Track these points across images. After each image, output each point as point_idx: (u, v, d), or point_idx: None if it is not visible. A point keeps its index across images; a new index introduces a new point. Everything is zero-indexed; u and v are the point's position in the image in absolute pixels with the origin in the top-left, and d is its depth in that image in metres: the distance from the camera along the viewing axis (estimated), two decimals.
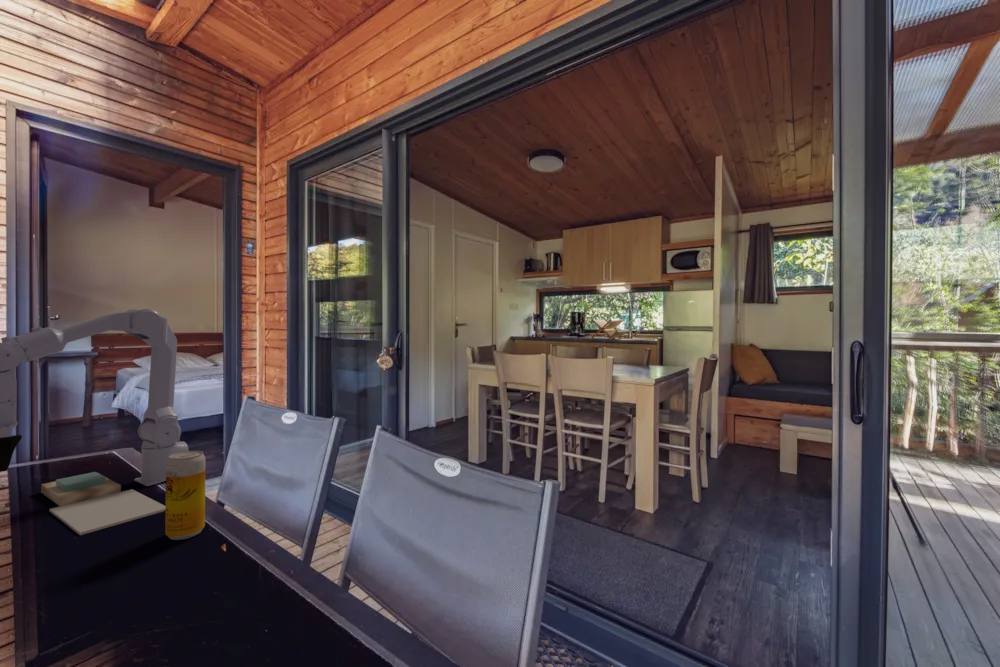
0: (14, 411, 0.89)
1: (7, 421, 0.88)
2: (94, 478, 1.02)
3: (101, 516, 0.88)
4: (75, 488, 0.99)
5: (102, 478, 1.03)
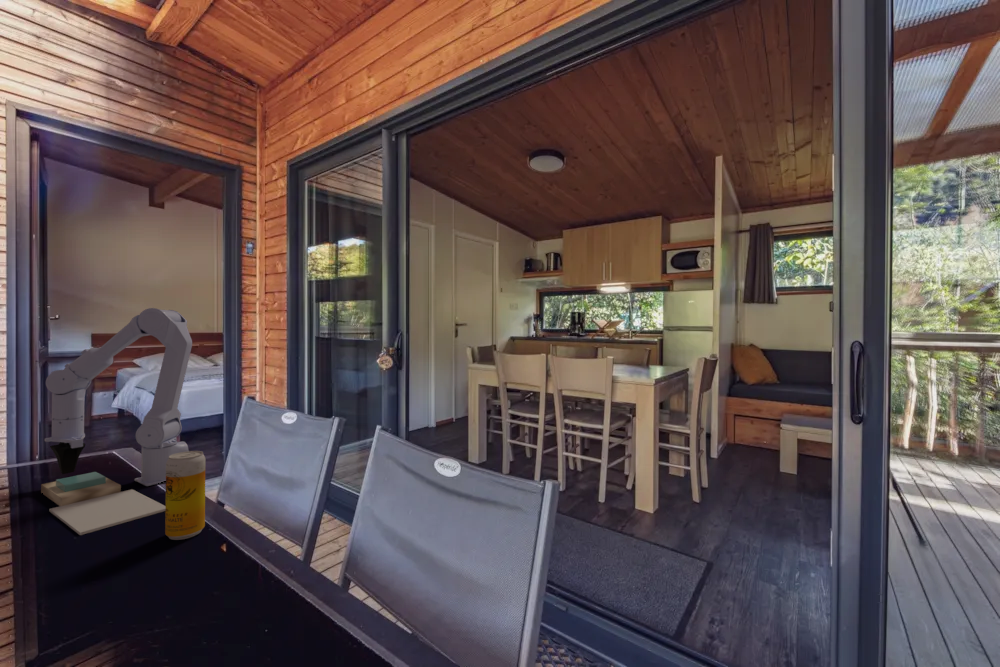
0: (83, 425, 1.09)
1: (78, 434, 1.07)
2: (94, 478, 1.02)
3: (101, 516, 0.88)
4: (75, 488, 0.99)
5: (102, 478, 1.03)
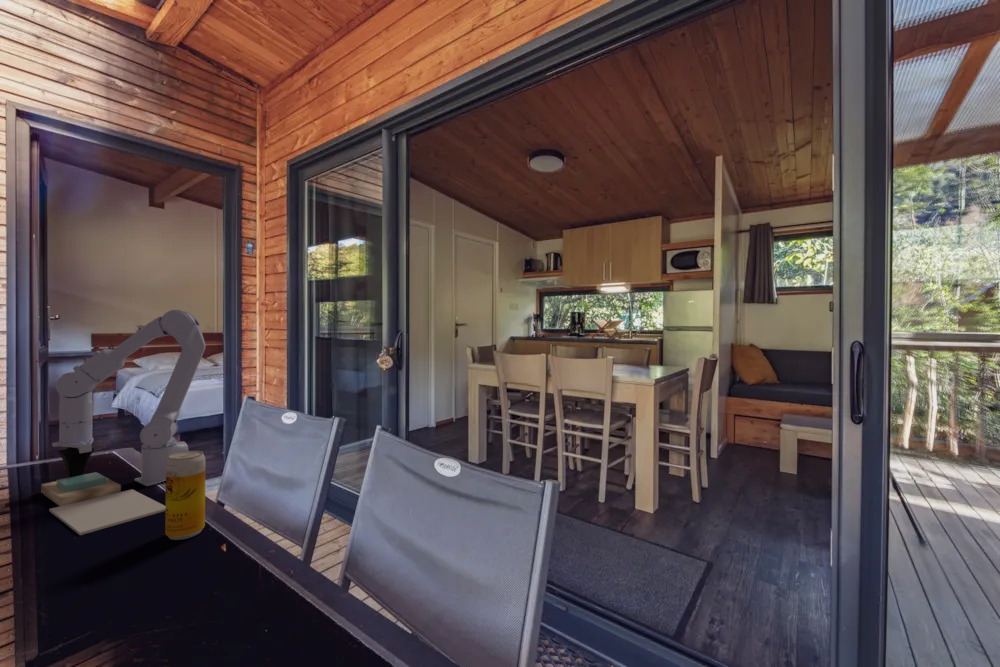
0: (91, 429, 1.05)
1: (86, 438, 1.04)
2: (95, 478, 1.02)
3: (101, 516, 0.88)
4: (75, 488, 0.98)
5: (103, 478, 1.02)
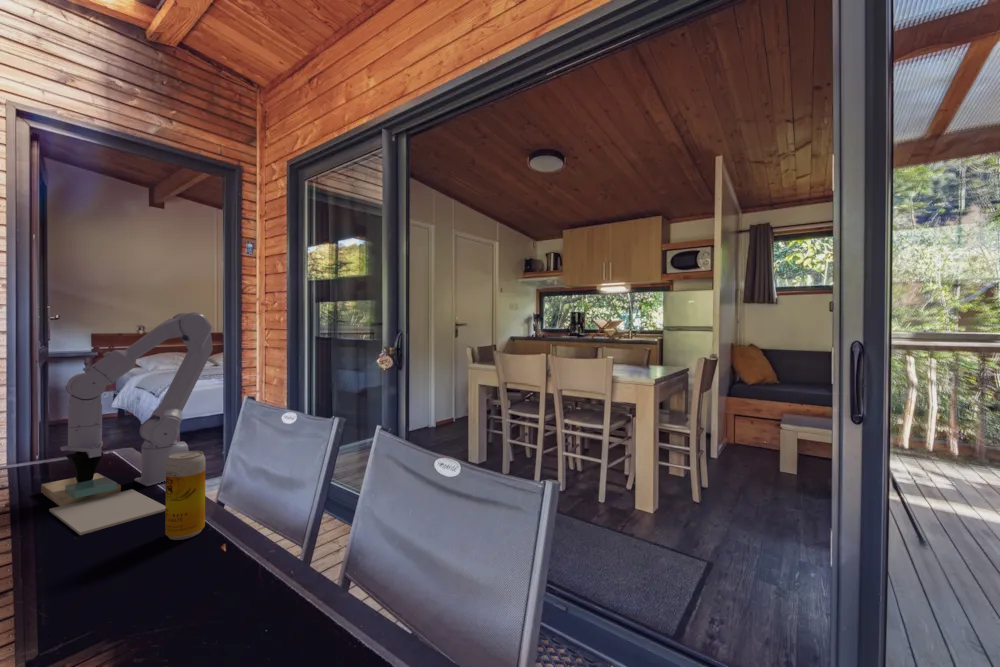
0: (100, 433, 1.02)
1: (95, 442, 1.00)
2: (105, 484, 0.98)
3: (101, 516, 0.88)
4: (85, 494, 0.95)
5: (113, 484, 0.99)
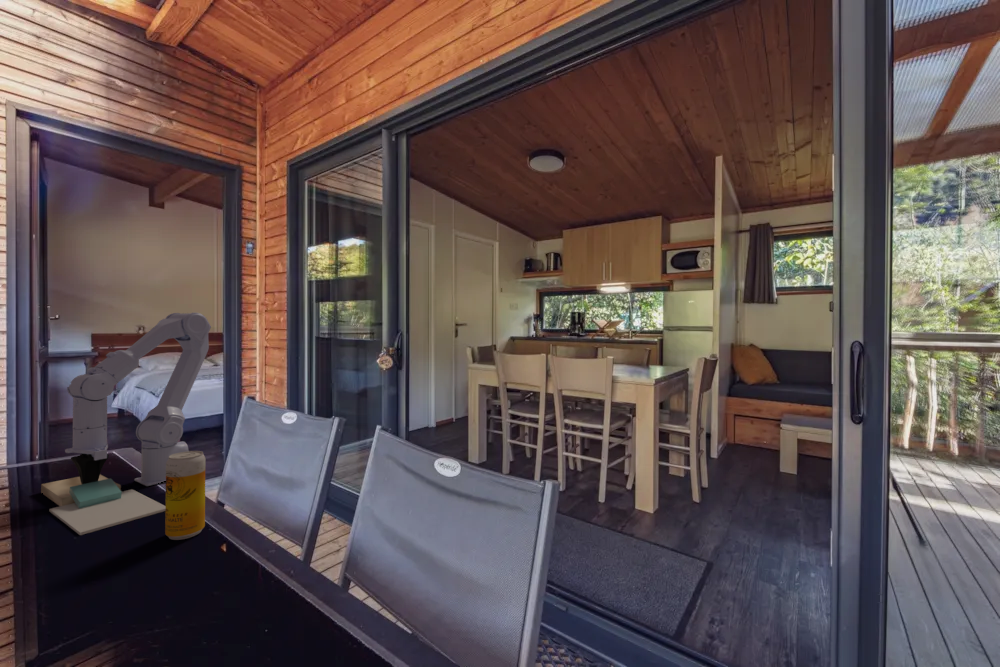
0: (106, 435, 1.00)
1: (101, 444, 0.98)
2: (110, 493, 0.97)
3: (101, 516, 0.88)
4: (90, 504, 0.93)
5: (118, 493, 0.97)
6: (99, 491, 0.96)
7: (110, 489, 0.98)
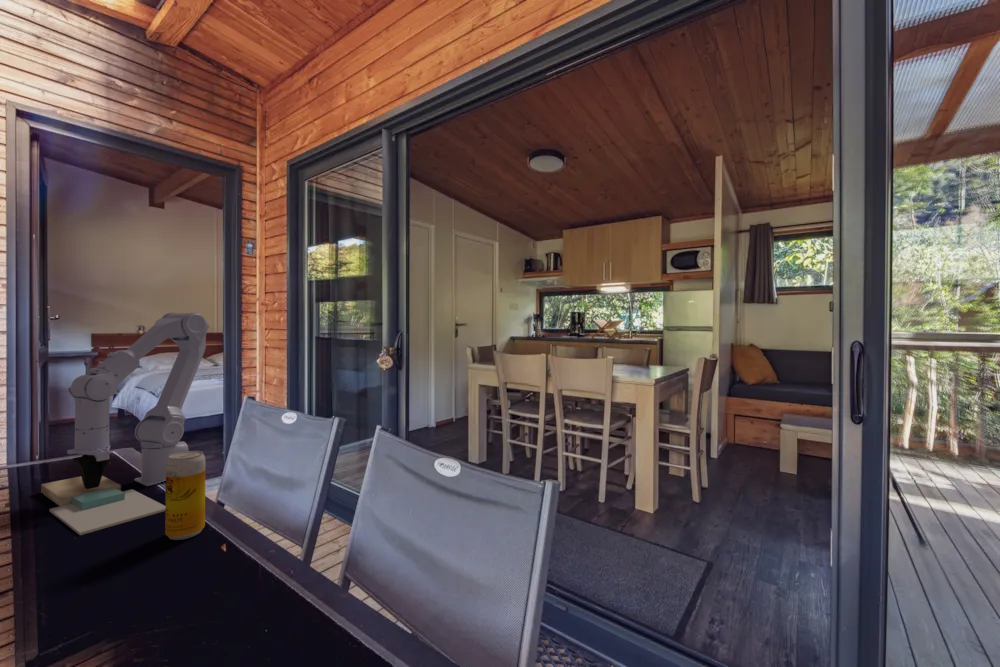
0: (108, 435, 0.99)
1: (103, 445, 0.98)
2: (113, 494, 0.96)
3: (101, 516, 0.88)
4: (93, 506, 0.93)
5: (121, 494, 0.97)
6: (101, 495, 0.96)
7: (112, 492, 0.97)
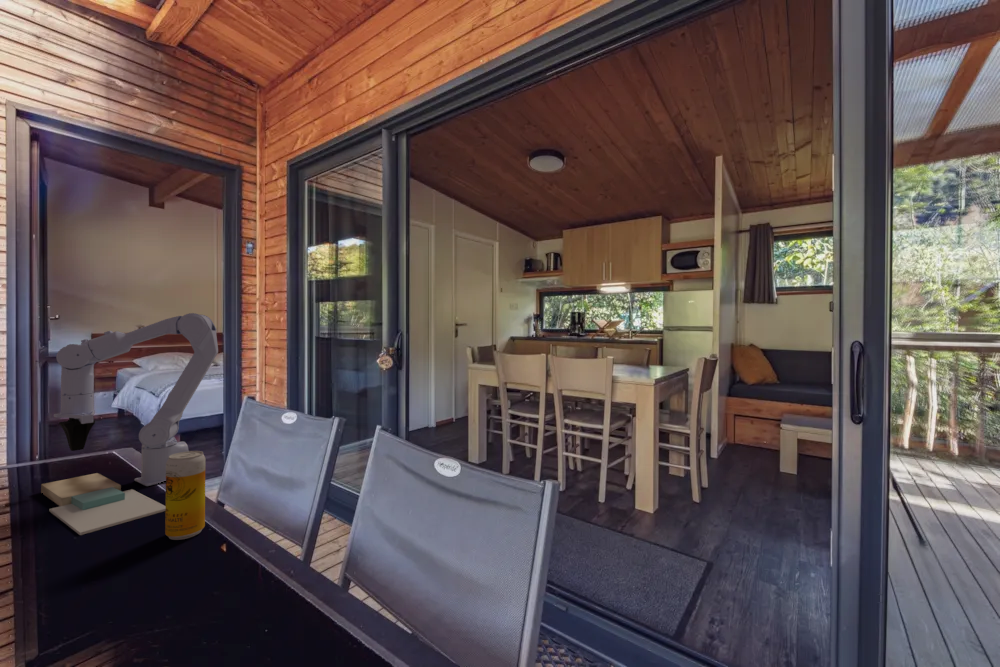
0: (92, 402, 1.06)
1: (87, 410, 1.05)
2: (113, 494, 0.96)
3: (101, 516, 0.88)
4: (93, 506, 0.93)
5: (121, 494, 0.97)
6: (101, 495, 0.96)
7: (112, 492, 0.97)
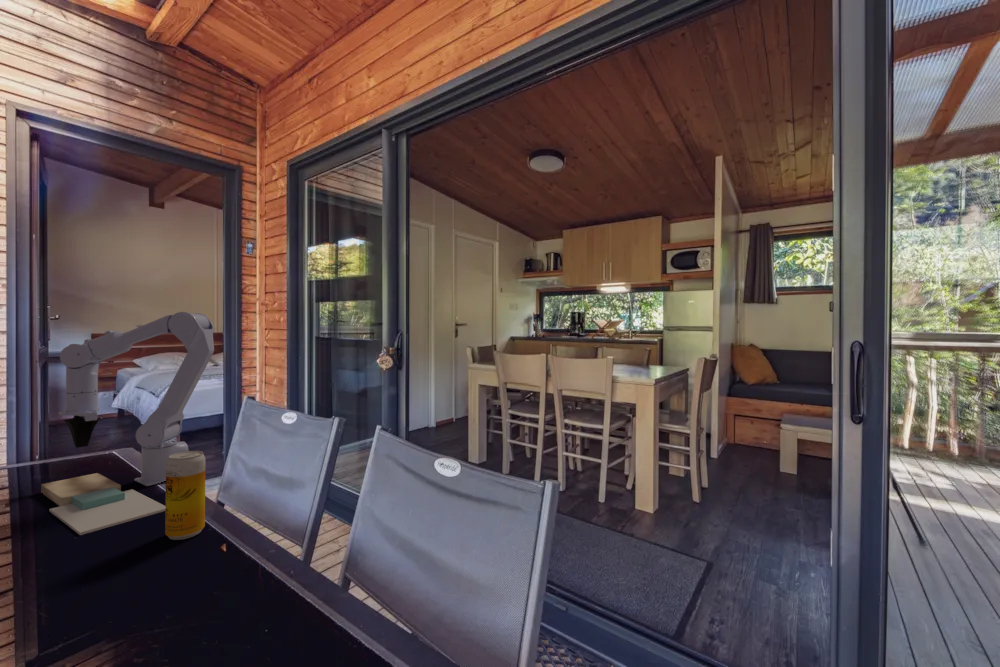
0: (96, 400, 1.09)
1: (91, 408, 1.08)
2: (113, 494, 0.96)
3: (101, 516, 0.88)
4: (93, 506, 0.93)
5: (121, 494, 0.97)
6: (101, 495, 0.96)
7: (112, 492, 0.97)
